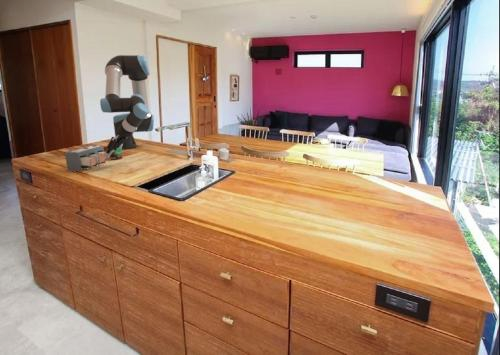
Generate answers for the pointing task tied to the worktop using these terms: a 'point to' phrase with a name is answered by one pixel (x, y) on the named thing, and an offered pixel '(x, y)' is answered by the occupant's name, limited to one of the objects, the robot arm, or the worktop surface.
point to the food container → (117, 153)
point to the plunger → (87, 161)
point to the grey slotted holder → (76, 154)
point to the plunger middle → (97, 158)
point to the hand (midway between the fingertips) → (105, 156)
